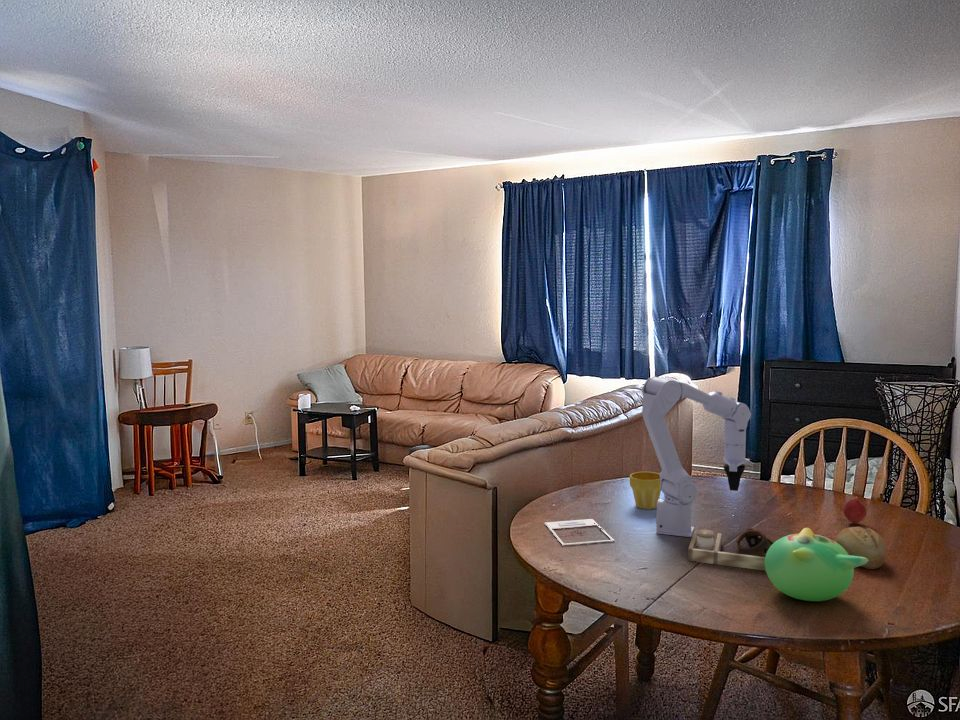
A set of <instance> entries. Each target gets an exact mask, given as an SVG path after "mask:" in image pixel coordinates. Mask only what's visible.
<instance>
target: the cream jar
mask: <svg viewBox="0 0 960 720" xmlns="http://www.w3.org/2000/svg"><path fill="white" fill-rule="evenodd" d="M696 531H697V533H696V534H697V547H696V549H702V550H711V551H714V542H715V541H714V537H715V532H714V531H712V530H710V529H698V530H696Z"/></svg>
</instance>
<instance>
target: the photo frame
mask: <svg viewBox="0 0 960 720" xmlns="http://www.w3.org/2000/svg"><path fill="white" fill-rule="evenodd" d="M594 523H595V524H594ZM544 525H545V527H546V526H547V527H548V528H549V529H548V528H547V527H546V528H547V529H548V531H549V532H550V531H551V532H552V533H553V534H552V533H551V532H550V533H551V534H552V536H553V537H554V536H555V537H556V538H557V539H556V538H555V537H554V538H555V539H556V541H557V542H558V541H559V542H560V543H561V544H562V545H561V544H560V543H559V542H558V543H559V544H560V545H561V547H562V546H563V545H571V544H583V543H594V542H605V541H615V539H614V538H613V537H612V536H611V535H609V533H607V531H606V530H605V529H603V528H602V526H601V525H599V524H598V523H597V522H596V521H595V520H594V518H587V519H585V518H584V519H572V520H571V519H570V520H560V521H547V522H544ZM592 525H597V526H598V525H599V526H598V527H599V528H602V529H603V530H602V529H601V530H602V531H603V532H604V533H605V534H606V535H607V536H608V537H609V538H610V540H609V539H603V540H591V541H579V542H578V541H577V542H569V543H567V542H566V543H564V542H563V541H562V539H561V538H560V537H559V536H558V535H557V533H556V532H555V530H552V529H561V528H573V527H582V526H592ZM563 547H564V546H563Z"/></svg>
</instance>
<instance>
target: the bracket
mask: <svg viewBox="0 0 960 720" xmlns="http://www.w3.org/2000/svg"><path fill="white" fill-rule="evenodd" d="M696 533H697V530H696V529H695V530H693V533H692V536H691V540H690V543H689V546H688V549H687V550H688V552H687V553H688V554H687V555H688V557H687V558H688V559H687V560H689V561H688V562H694V561H696V562H695V563H701V564H702V563H703V564H704V563H705V564H710V565H718V566H727V567H734V568H743V569H751V570H758V571H765V572H766V569H765V556H752V555H744V554H736V553H735V552H727V551H726V552H725V551H721V549H722V540H723V539H722V537H723V533H720V532H718V533H717V536H716V540H715V544H714V547H713V551H711V550H702V549H697V547H696V546H697V534H696Z"/></svg>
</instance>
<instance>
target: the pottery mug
mask: <svg viewBox="0 0 960 720" xmlns="http://www.w3.org/2000/svg"><path fill="white" fill-rule="evenodd" d="M744 539H745V541H746V543H747V546H748V547H745V546H743V545H741V542H742V541H743V540H744ZM735 542H736V549H735V552H736V554H744V555H752V556H761V557H765V556H766V553H767V551H768V549H769V548H770V546H771V545H772V544H773V543H774V541H773V539H772V538H771V537H769V536H768V535H767V534H765V533H764V532H763V531H761V530H759V529H754V528H752V527H750V528H748V529H746V530H745V531H744V532H742V533H740V534H739V535H738V536H737V538H736V541H735Z"/></svg>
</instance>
